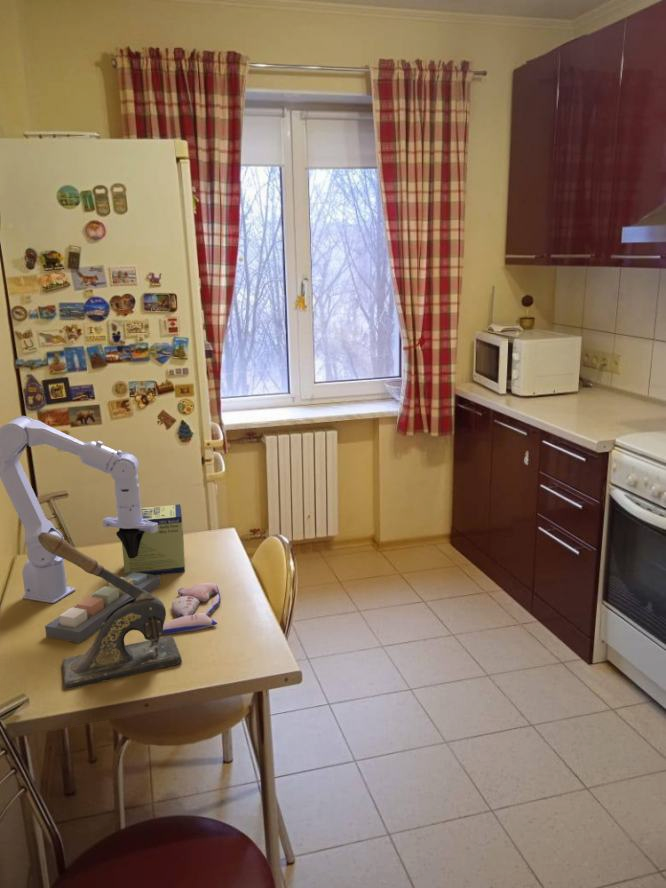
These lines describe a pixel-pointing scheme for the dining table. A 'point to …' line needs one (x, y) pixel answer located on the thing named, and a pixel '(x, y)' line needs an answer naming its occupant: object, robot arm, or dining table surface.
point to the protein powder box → (159, 543)
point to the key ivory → (73, 617)
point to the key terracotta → (91, 605)
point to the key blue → (137, 577)
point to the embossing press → (116, 629)
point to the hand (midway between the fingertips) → (133, 556)
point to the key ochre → (120, 589)
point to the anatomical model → (192, 608)
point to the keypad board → (96, 615)
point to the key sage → (107, 594)
